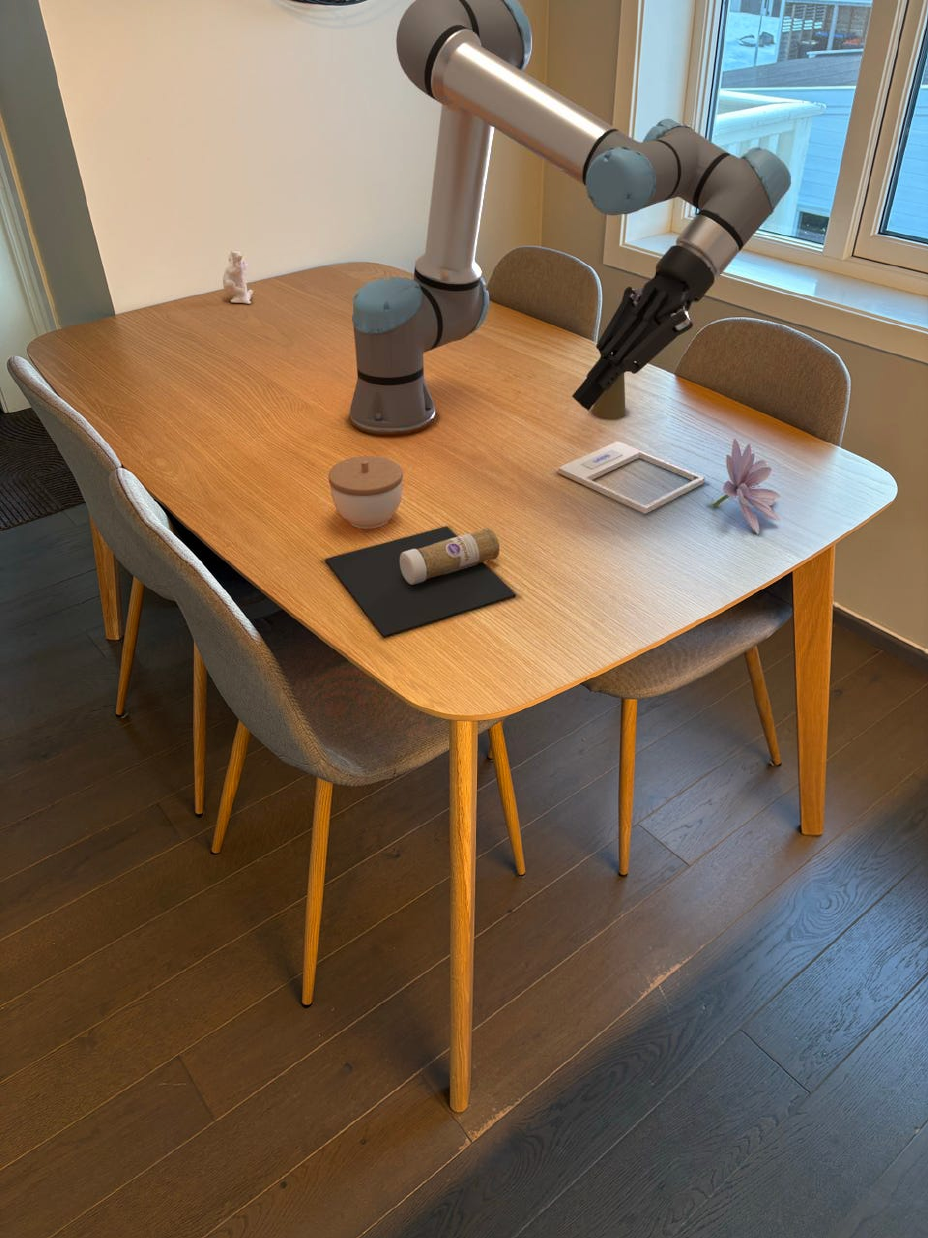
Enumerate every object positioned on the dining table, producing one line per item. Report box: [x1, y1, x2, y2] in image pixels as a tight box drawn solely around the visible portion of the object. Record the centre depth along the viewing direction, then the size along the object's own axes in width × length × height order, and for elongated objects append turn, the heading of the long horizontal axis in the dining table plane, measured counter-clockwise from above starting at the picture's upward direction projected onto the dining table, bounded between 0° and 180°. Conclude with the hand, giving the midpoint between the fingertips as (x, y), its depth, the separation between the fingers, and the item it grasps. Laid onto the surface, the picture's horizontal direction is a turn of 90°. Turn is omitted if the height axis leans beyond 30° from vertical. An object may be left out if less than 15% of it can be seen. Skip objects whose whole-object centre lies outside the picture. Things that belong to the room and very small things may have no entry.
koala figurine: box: [222, 250, 254, 305], centre depth 220 cm, size 8×7×12 cm
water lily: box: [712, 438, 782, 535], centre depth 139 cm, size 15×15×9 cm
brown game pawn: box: [592, 373, 626, 420], centre depth 167 cm, size 6×6×11 cm
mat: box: [324, 525, 517, 639], centre depth 126 cm, size 20×19×1 cm
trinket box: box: [327, 455, 404, 530], centre depth 137 cm, size 11×11×9 cm
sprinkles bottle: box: [400, 527, 501, 585], centre depth 126 cm, size 5×5×13 cm
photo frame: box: [557, 440, 706, 515], centre depth 149 cm, size 15×1×18 cm
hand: (580, 403), depth 128 cm, fingers closed
